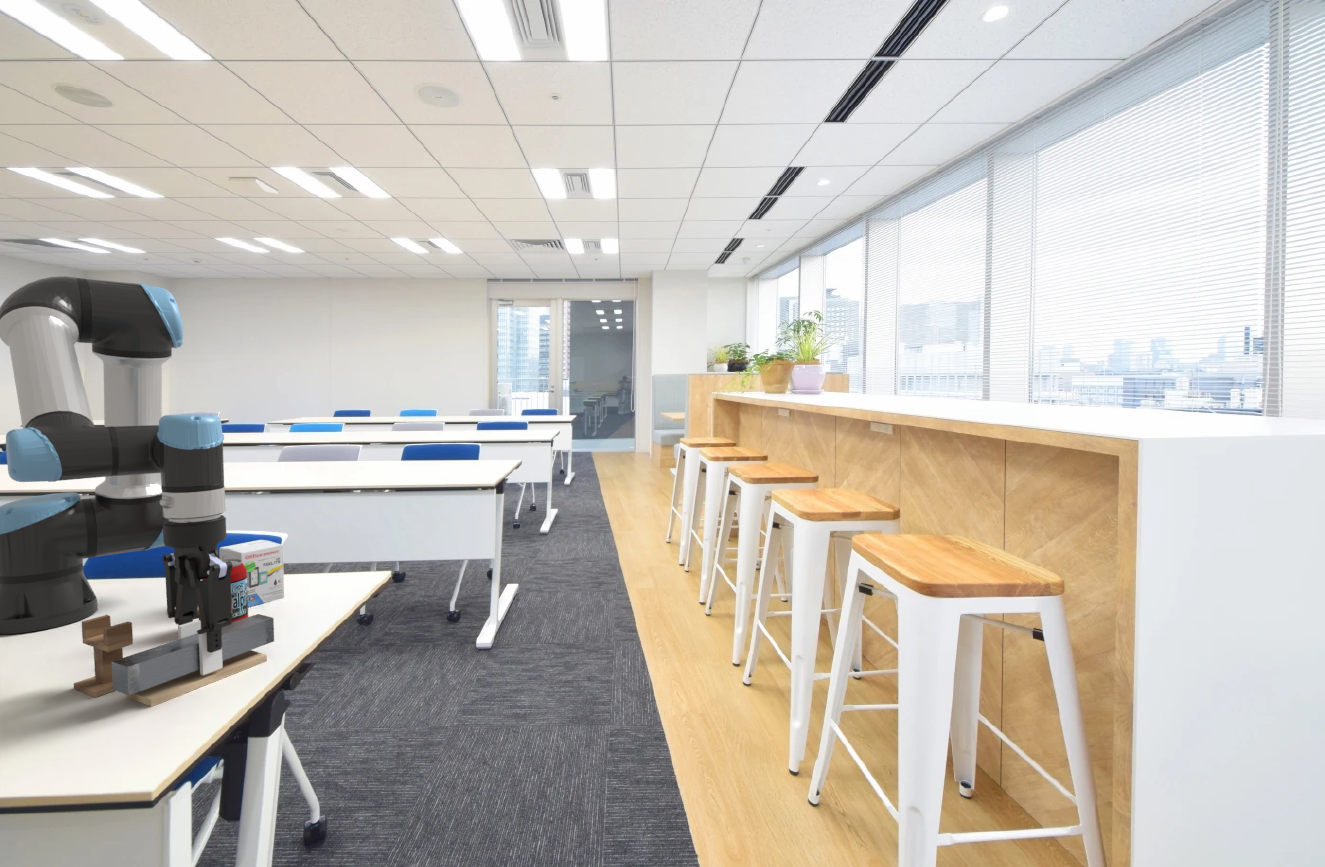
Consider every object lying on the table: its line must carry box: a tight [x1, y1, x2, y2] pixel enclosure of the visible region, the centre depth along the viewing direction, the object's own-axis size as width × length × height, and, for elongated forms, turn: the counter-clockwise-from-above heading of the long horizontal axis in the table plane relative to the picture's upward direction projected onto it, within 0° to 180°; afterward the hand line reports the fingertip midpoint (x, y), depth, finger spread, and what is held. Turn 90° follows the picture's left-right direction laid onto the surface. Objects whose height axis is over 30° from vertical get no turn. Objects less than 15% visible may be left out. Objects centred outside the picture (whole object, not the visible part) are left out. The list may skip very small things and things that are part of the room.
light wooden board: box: [127, 649, 268, 707], centre depth 93 cm, size 6×16×1 cm, turn 156°
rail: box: [112, 613, 275, 697], centre depth 93 cm, size 4×20×4 cm, turn 156°
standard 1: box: [73, 614, 134, 698], centre depth 90 cm, size 7×6×10 cm
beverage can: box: [202, 559, 249, 622], centre depth 113 cm, size 7×7×12 cm
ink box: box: [218, 539, 285, 608], centre depth 127 cm, size 8×8×12 cm
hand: (201, 667), depth 93 cm, fingers open, 4 cm apart
